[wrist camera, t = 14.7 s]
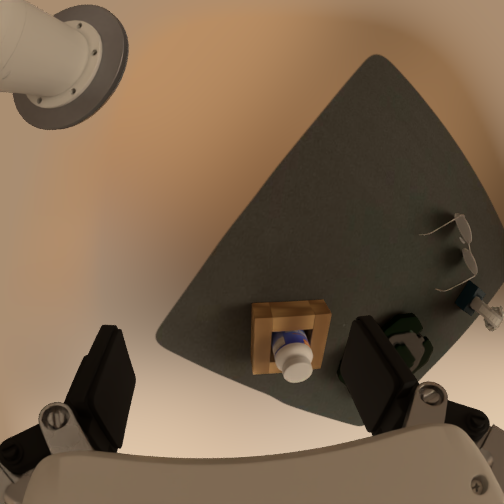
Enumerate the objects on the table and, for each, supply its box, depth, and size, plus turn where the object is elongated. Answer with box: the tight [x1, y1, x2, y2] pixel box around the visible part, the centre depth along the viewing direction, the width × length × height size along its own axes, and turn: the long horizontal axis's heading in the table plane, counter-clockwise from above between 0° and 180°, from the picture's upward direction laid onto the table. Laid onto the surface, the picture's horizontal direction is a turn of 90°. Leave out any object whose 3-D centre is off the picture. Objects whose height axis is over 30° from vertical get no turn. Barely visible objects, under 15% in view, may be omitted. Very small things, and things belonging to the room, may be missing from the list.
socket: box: [251, 300, 331, 374], centre depth 44 cm, size 11×11×4 cm
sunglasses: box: [419, 213, 477, 291], centre depth 42 cm, size 14×8×5 cm, turn 34°
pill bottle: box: [271, 330, 313, 383], centre depth 41 cm, size 5×5×10 cm
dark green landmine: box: [337, 313, 433, 385], centre depth 49 cm, size 18×18×5 cm
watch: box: [455, 281, 504, 331], centre depth 43 cm, size 6×8×11 cm
